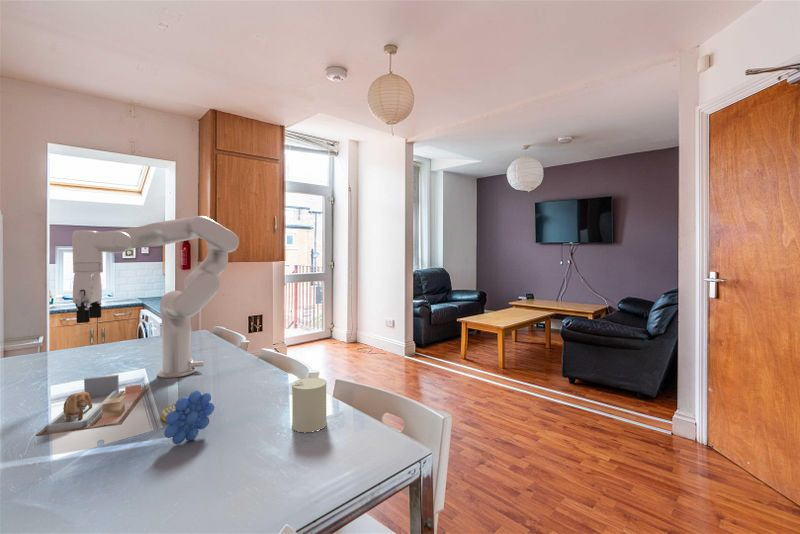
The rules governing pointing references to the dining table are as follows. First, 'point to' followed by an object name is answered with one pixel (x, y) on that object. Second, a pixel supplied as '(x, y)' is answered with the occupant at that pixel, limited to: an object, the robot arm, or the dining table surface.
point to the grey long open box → (95, 389)
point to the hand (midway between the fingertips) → (89, 320)
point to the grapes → (189, 417)
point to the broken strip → (130, 396)
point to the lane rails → (100, 417)
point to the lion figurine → (76, 405)
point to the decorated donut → (167, 411)
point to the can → (309, 404)
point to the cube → (113, 407)
